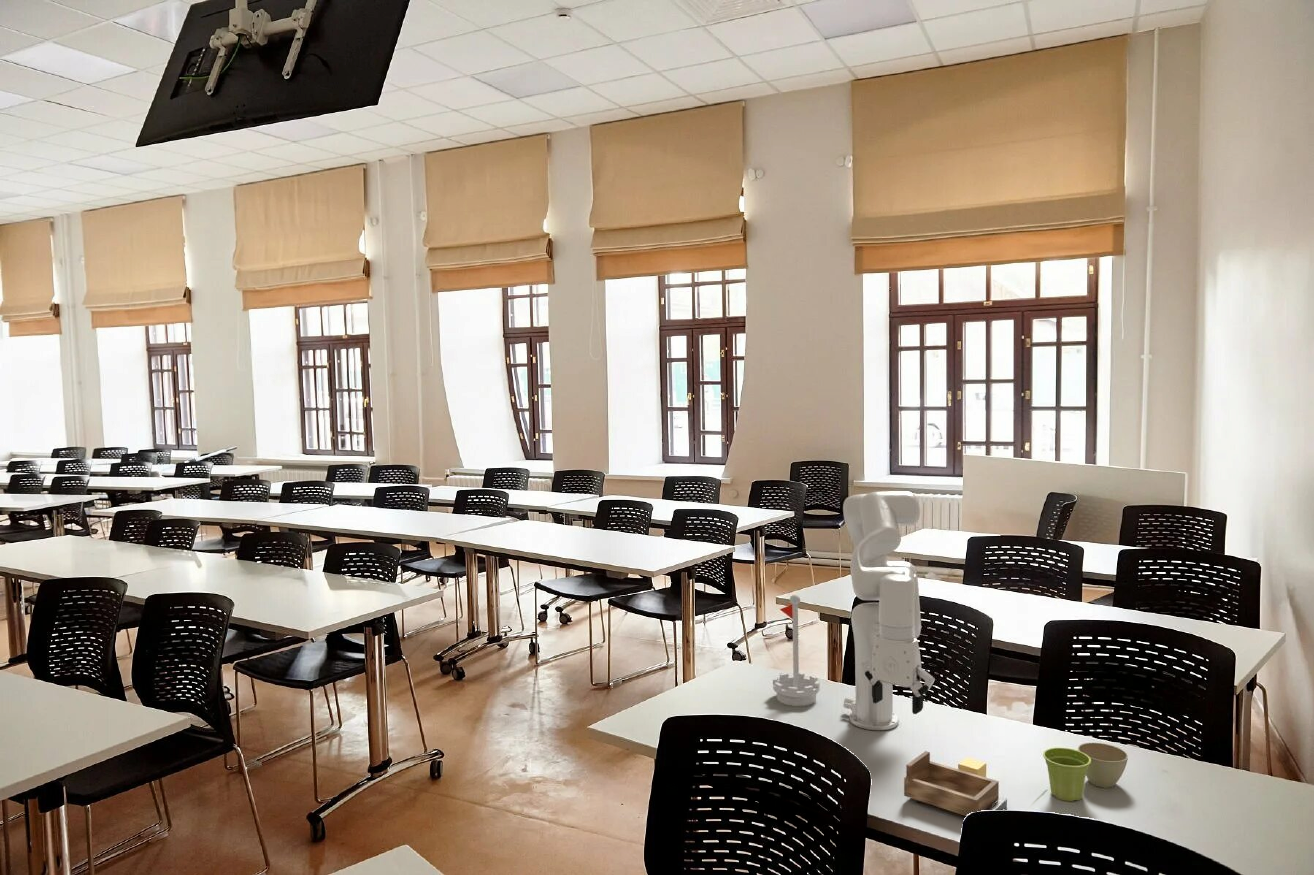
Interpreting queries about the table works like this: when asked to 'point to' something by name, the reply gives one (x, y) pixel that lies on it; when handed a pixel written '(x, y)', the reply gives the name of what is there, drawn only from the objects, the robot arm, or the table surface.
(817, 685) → the flag stand
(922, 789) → the wooden crate
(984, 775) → the block
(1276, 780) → the table surface
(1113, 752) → the flower pot
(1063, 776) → the plant pot
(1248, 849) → the table surface
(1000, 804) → the rail
